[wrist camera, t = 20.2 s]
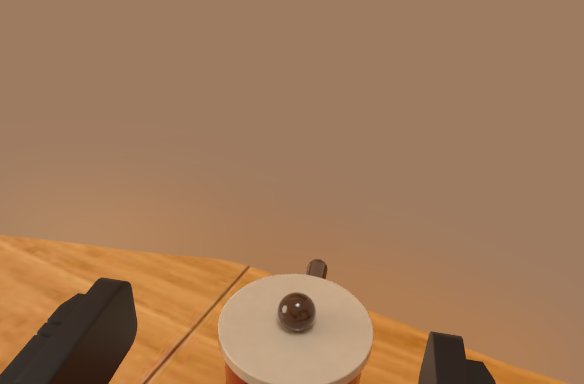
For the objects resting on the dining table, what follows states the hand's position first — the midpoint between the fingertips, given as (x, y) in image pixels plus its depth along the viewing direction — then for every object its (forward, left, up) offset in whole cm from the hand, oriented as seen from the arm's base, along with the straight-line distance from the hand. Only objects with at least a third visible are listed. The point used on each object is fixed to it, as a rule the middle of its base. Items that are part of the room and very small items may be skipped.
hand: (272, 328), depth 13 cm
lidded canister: (-7, -5, -17) cm, 19 cm away
